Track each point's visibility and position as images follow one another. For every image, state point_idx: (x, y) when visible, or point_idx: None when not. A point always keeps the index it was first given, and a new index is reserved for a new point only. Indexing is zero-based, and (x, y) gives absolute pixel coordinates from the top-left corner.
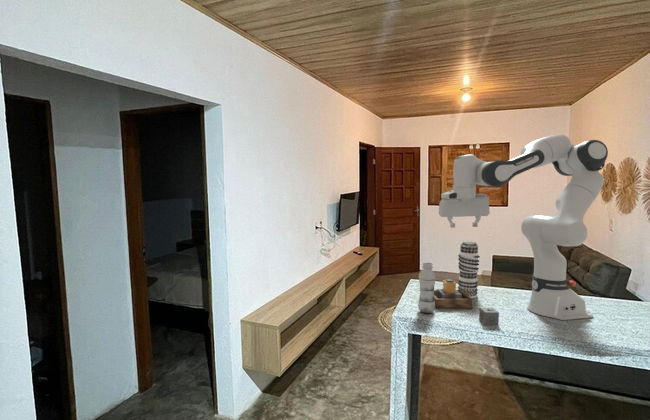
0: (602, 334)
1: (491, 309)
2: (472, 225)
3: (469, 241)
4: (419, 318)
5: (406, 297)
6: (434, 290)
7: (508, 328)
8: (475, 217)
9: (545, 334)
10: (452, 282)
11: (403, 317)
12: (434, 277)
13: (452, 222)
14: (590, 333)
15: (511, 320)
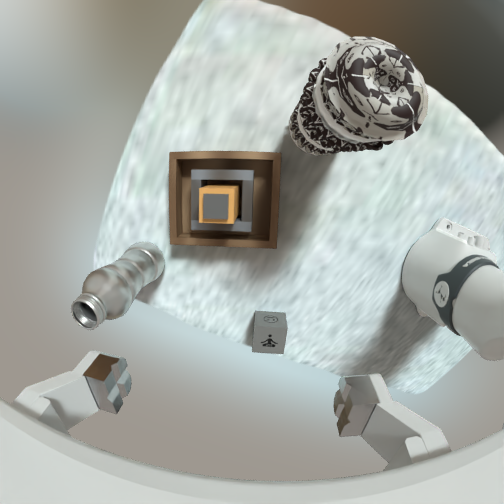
0: (422, 361)
1: (277, 338)
2: (344, 381)
3: (398, 58)
4: None
5: (126, 146)
6: (191, 158)
7: (293, 349)
8: (402, 455)
9: (341, 369)
10: (221, 220)
11: None
12: (123, 314)
13: (88, 414)
14: (411, 360)
15: (326, 315)
